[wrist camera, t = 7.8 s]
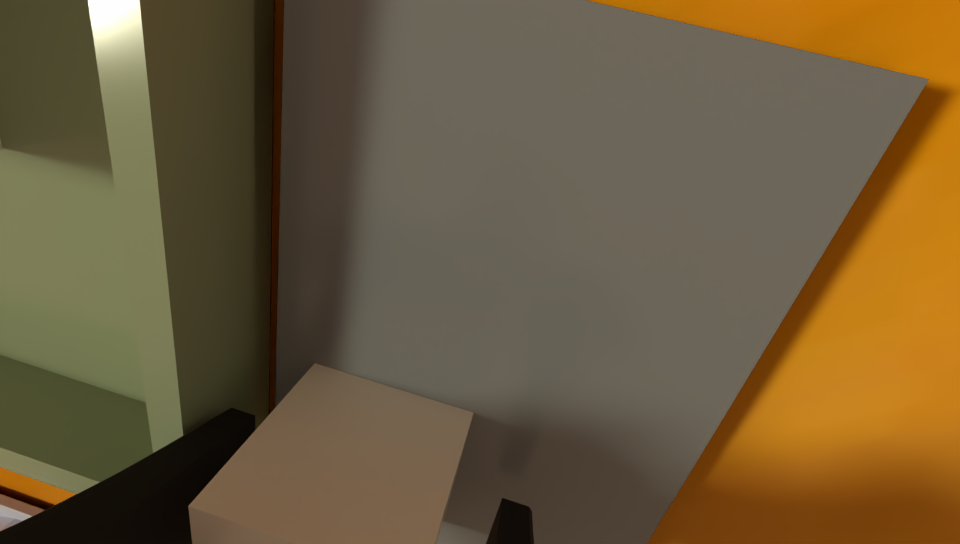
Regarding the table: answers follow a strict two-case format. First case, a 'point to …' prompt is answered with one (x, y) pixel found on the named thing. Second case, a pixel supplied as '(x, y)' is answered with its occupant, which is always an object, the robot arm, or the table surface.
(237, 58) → the olive dish
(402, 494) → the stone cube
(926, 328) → the table surface
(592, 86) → the slate board
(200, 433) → the robot arm
